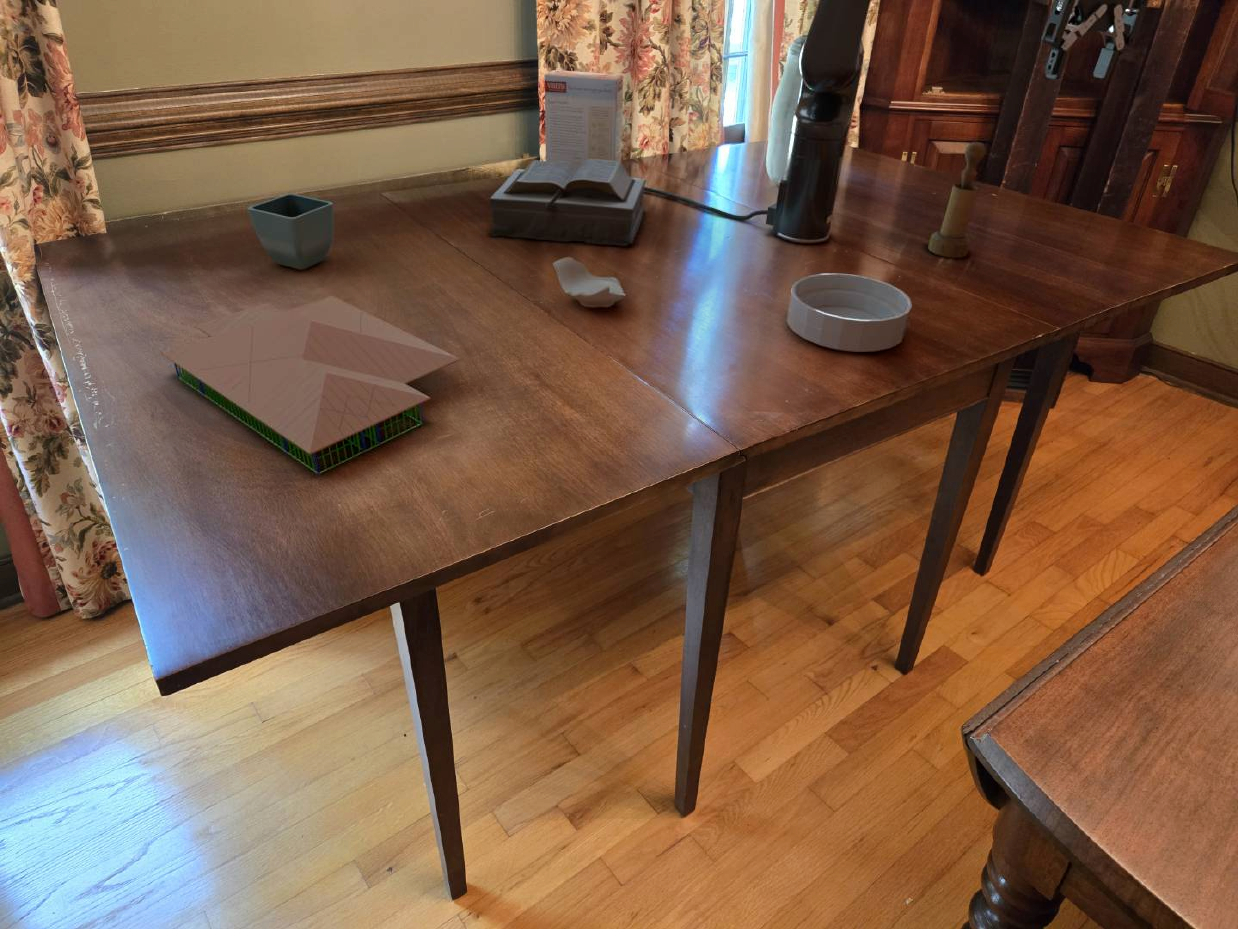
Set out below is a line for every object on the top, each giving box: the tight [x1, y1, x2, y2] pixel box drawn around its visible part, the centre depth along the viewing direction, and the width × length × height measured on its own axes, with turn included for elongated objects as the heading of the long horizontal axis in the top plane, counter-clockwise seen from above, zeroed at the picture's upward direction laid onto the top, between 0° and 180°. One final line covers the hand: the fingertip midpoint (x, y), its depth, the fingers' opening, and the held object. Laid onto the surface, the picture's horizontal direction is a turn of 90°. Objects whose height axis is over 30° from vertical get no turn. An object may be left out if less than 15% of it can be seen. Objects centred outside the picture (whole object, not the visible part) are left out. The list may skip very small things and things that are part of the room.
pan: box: [786, 272, 913, 353], centre depth 114 cm, size 16×16×5 cm
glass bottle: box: [765, 34, 807, 186], centre depth 163 cm, size 10×10×28 cm
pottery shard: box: [552, 256, 627, 309], centre depth 118 cm, size 10×11×5 cm
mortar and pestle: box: [927, 141, 986, 259], centre depth 138 cm, size 7×6×18 cm
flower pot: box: [247, 193, 334, 271], centre depth 125 cm, size 9×9×9 cm
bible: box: [489, 159, 647, 247], centre depth 144 cm, size 23×27×10 cm
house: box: [160, 295, 461, 475], centre depth 95 cm, size 23×33×8 cm
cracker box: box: [544, 69, 624, 166], centre depth 159 cm, size 14×6×21 cm, turn 77°
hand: (1076, 77), depth 119 cm, fingers open, 8 cm apart
